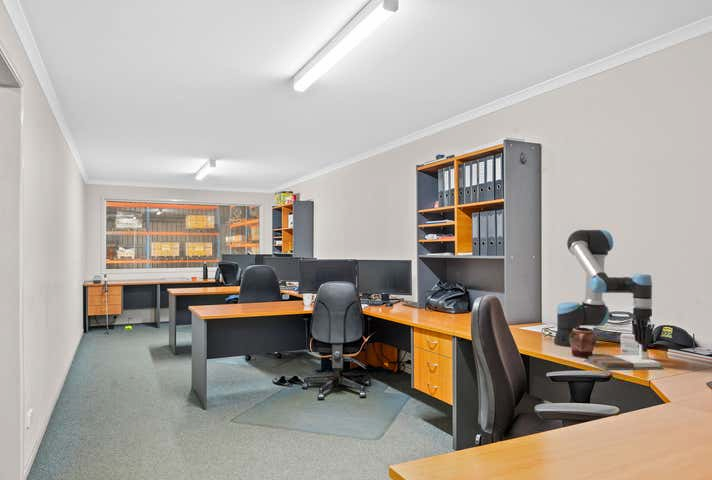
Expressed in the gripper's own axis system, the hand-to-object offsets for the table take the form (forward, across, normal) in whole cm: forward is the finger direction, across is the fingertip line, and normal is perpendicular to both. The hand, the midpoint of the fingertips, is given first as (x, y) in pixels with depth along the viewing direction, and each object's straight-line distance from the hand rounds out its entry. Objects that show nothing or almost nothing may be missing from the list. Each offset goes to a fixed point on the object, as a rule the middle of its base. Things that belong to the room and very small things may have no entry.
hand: (643, 358), depth 221 cm
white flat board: (+2, 0, -3) cm, 4 cm away
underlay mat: (+3, 0, -10) cm, 10 cm away
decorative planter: (+3, -18, -19) cm, 26 cm away
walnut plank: (+3, 0, -16) cm, 16 cm away
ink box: (+3, -13, +3) cm, 14 cm away
